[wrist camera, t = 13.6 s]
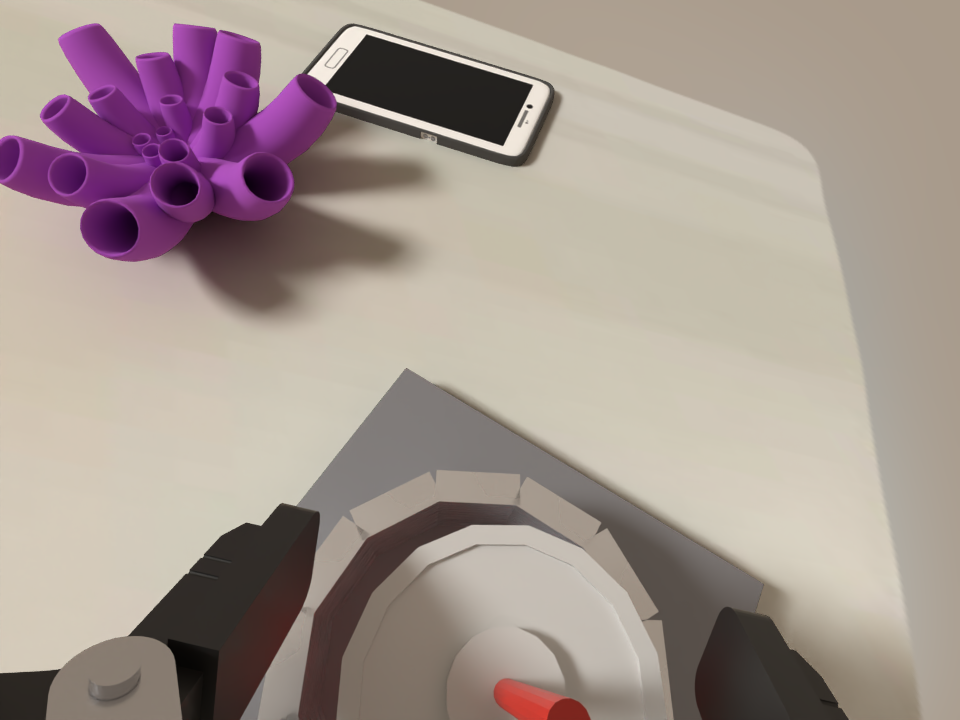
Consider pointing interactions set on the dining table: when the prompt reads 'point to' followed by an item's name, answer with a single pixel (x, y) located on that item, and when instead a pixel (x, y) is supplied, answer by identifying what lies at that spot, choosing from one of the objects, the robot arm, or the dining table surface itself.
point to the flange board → (494, 449)
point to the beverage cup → (500, 636)
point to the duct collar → (400, 517)
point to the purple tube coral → (167, 139)
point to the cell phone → (434, 93)
